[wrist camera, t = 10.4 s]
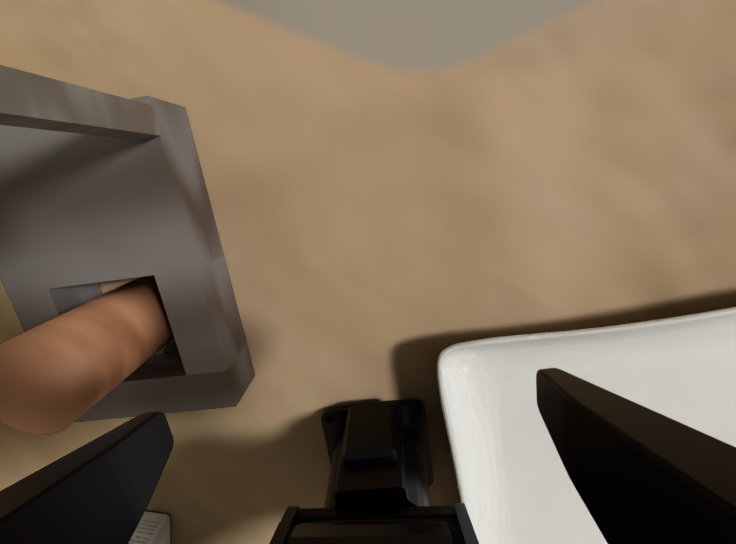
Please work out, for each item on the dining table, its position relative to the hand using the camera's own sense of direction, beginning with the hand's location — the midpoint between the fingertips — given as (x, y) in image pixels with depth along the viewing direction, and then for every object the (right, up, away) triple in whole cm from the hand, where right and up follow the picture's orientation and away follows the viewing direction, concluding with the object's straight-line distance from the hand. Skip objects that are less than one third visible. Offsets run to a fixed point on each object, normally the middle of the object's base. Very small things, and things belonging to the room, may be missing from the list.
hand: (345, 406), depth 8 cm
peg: (-12, +1, +13) cm, 18 cm away
